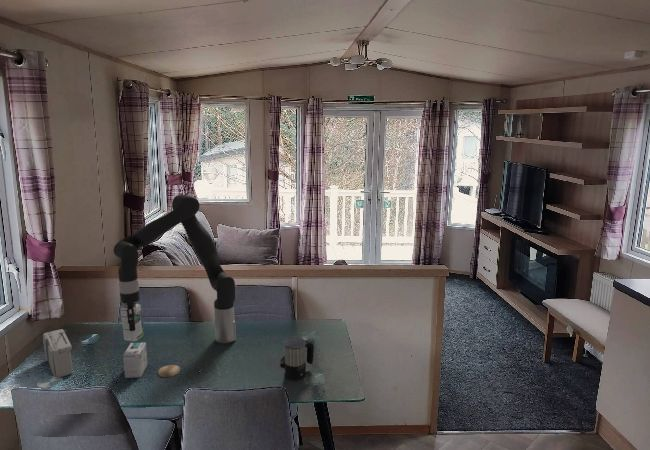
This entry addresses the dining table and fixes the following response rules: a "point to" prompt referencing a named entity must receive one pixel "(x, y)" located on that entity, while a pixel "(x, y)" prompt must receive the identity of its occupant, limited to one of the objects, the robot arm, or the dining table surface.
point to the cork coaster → (168, 371)
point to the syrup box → (138, 324)
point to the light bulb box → (135, 360)
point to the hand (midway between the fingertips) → (132, 326)
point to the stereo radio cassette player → (58, 352)
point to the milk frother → (296, 358)
